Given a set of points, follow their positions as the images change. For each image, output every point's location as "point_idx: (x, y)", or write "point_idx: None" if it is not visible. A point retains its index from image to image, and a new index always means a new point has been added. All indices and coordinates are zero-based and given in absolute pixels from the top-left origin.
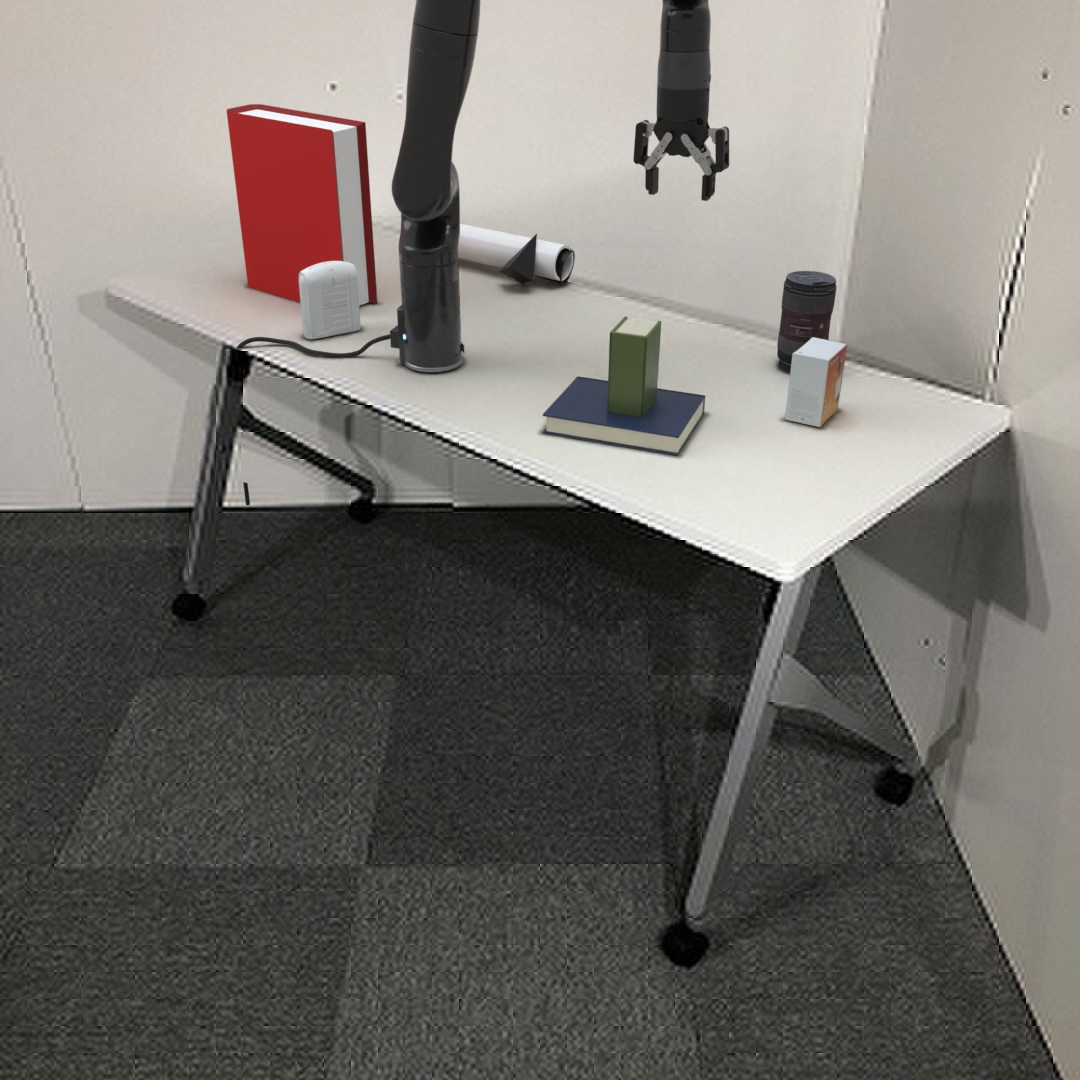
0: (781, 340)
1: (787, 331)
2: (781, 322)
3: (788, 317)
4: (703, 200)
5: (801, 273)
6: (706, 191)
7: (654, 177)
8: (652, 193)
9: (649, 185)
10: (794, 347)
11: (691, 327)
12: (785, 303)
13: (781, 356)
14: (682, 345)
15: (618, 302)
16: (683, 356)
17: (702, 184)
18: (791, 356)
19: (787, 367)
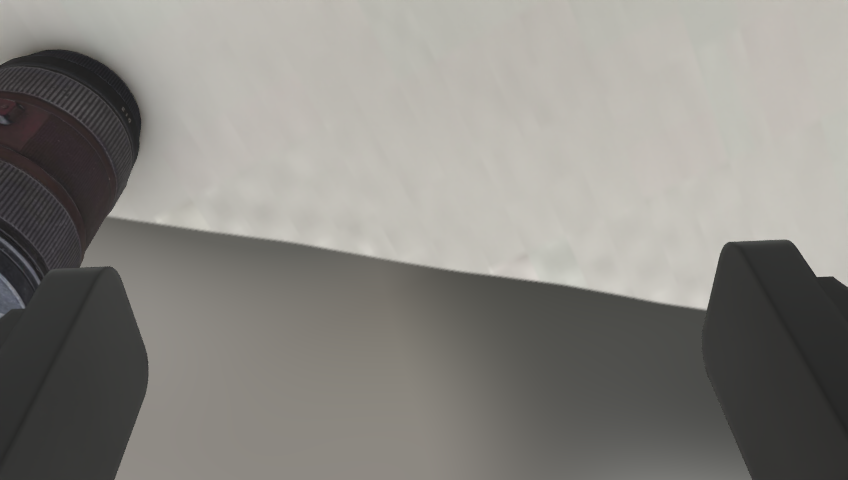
0: (72, 103)
1: (27, 111)
2: (69, 150)
3: (7, 140)
4: (92, 267)
5: None
6: (15, 340)
7: (796, 416)
8: (735, 245)
9: (816, 301)
10: (8, 78)
11: (508, 234)
12: (10, 177)
13: (85, 75)
14: (475, 95)
15: None
16: (431, 7)
17: (26, 392)
18: (32, 64)
19: (69, 57)
